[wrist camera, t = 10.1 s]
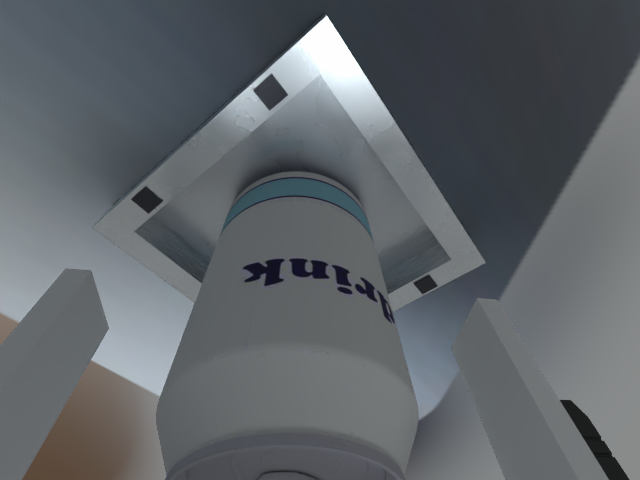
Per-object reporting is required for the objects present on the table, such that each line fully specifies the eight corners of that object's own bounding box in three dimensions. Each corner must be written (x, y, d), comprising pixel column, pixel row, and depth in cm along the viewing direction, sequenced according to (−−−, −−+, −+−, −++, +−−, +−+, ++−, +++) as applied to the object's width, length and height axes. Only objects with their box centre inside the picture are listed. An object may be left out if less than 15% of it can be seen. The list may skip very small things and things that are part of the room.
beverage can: (391, 192, 17) (505, 460, 7) (333, 292, 21) (356, 565, 11) (251, 139, 15) (151, 392, 6) (214, 257, 19) (112, 542, 9)
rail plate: (112, 205, 17) (91, 228, 16) (324, 13, 13) (327, 16, 12) (286, 342, 23) (284, 369, 22) (470, 240, 19) (486, 263, 17)
